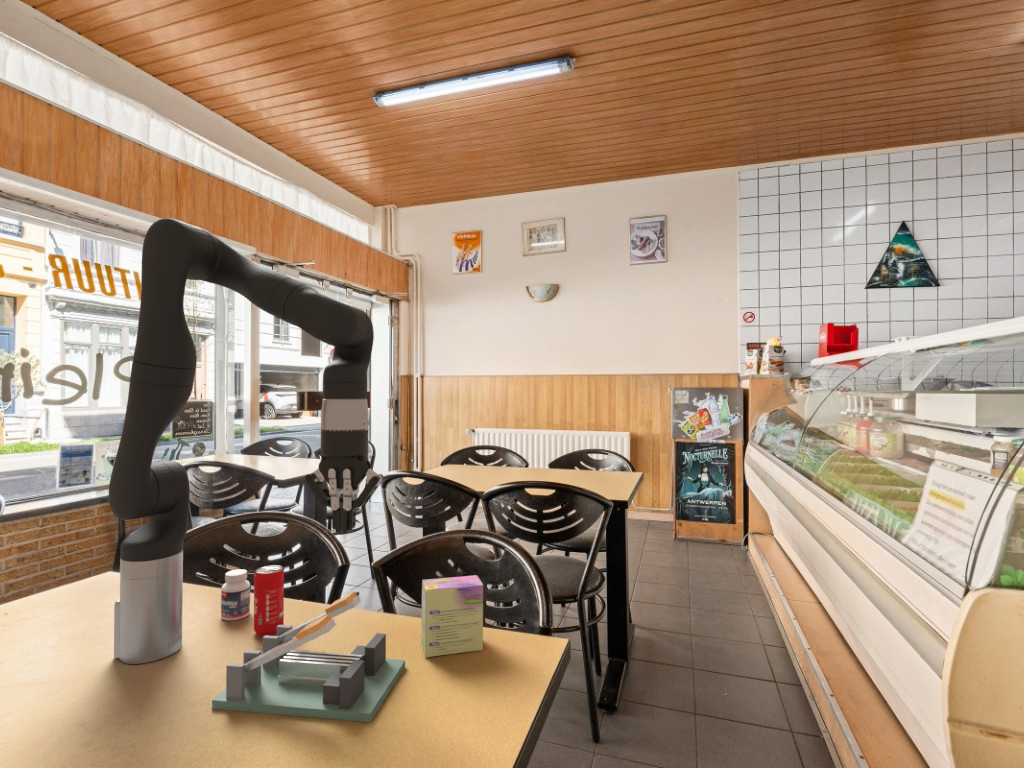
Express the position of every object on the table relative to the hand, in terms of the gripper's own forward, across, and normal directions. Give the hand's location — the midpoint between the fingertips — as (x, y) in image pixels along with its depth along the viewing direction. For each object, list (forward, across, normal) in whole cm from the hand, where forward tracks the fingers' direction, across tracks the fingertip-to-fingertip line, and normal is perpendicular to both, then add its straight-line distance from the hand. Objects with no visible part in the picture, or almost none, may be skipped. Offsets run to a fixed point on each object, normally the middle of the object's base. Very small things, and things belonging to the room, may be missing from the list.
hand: (344, 531), depth 89 cm
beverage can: (+23, -20, +12) cm, 33 cm away
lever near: (+16, -5, -9) cm, 19 cm away
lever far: (+16, -5, 0) cm, 16 cm away
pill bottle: (+23, -32, +18) cm, 43 cm away
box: (+23, +16, +11) cm, 30 cm away
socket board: (+23, -2, -4) cm, 24 cm away
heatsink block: (+22, -1, -4) cm, 22 cm away
